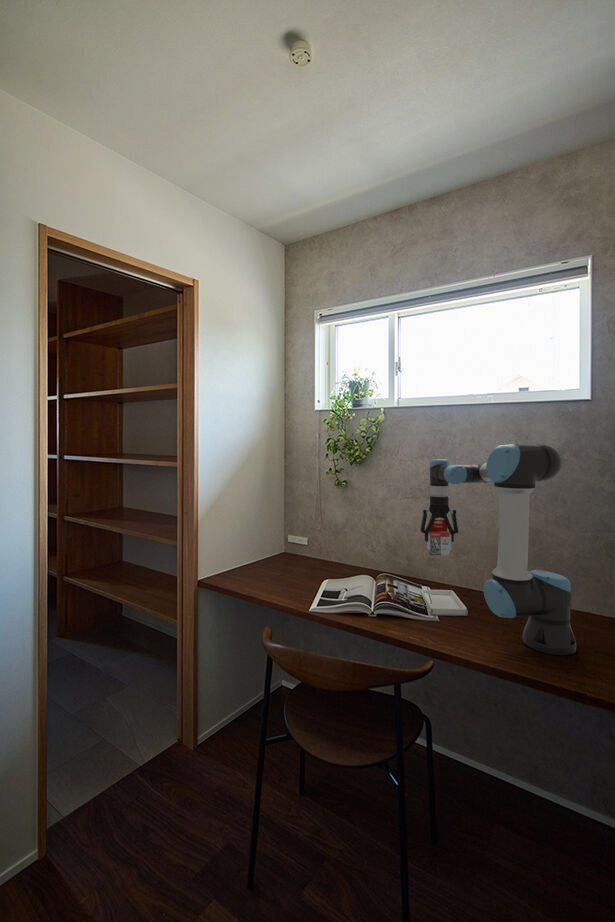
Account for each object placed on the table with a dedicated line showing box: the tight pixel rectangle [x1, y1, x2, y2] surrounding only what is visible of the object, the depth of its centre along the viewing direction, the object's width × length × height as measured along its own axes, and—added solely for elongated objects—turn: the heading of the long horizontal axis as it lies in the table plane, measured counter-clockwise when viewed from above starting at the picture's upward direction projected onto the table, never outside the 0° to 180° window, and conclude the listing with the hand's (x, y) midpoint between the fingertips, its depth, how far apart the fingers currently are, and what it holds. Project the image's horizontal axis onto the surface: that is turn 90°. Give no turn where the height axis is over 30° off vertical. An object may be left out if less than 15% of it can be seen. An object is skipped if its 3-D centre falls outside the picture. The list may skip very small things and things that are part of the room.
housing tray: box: [419, 589, 469, 617], centre depth 175 cm, size 22×14×2 cm, turn 176°
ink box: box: [428, 519, 451, 556], centre depth 183 cm, size 4×8×15 cm, turn 84°
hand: (439, 549), depth 183 cm, fingers closed on ink box, 8 cm apart
